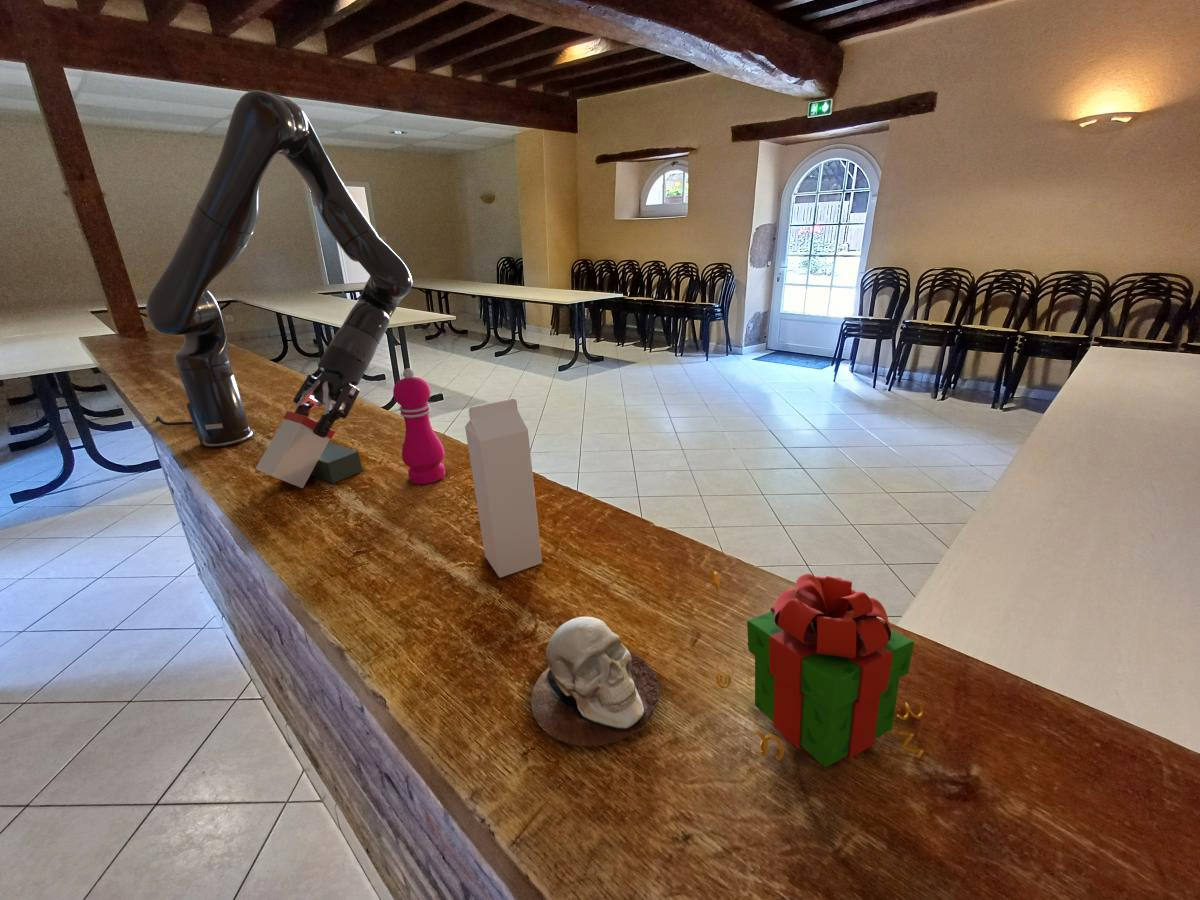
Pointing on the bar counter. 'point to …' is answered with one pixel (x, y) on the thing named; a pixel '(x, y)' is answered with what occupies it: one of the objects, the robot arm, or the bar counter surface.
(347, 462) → the block
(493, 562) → the milk
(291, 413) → the container
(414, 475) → the pepper mill
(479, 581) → the bar counter surface
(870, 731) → the gift wrap
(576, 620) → the skull
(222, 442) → the robot arm
